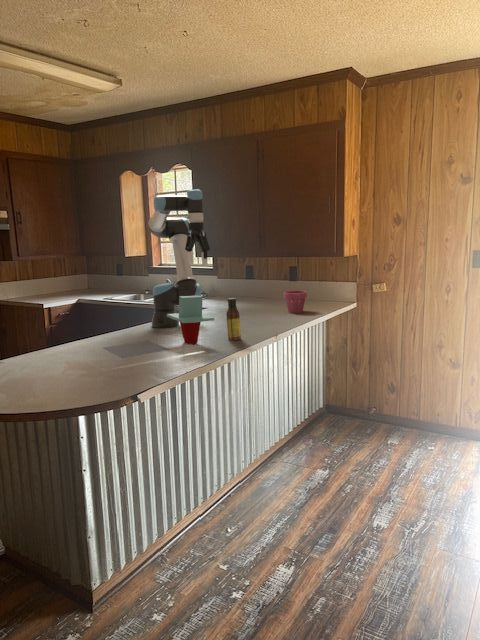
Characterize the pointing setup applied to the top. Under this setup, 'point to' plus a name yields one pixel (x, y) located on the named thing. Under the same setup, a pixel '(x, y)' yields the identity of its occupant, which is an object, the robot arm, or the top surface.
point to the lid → (190, 310)
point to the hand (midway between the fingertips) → (197, 264)
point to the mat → (135, 348)
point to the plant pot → (295, 300)
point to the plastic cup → (190, 332)
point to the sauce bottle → (233, 320)
